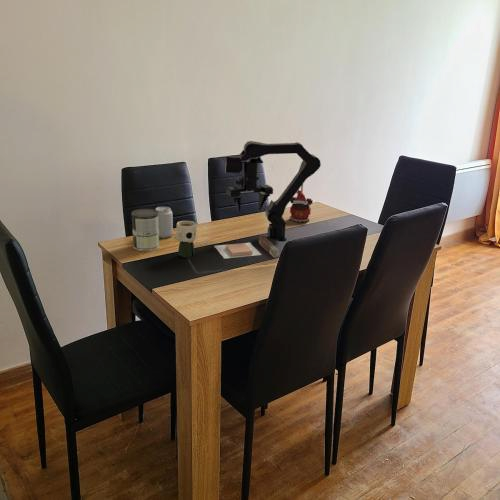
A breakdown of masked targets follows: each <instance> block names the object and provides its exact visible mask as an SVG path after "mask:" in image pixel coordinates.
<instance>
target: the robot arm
mask: <svg viewBox="0 0 500 500" xmlns="http://www.w3.org/2000/svg"><path fill="white" fill-rule="evenodd" d="M280 154H281V155H282V154H283V155H285V154H286V155H287V154H297V156H298V157H299V158H300V159H301V160H302V161H301V163H300V165H299V169H298V171H297V173H296V174H295V175H294V177H293V179H292V180H291V181H290V182H289V184H288V185H287V187H286V188H285V189H284V191H283V192H282V193H281V195H280V196H279V197H278V199H276V200H275V201H273V200H272V199H271V200H270V202H269V203H268V205H267V206H265V211H264V213H265V214H264V215H265V216H266V219H267V220H268V222H269V223H268V227H267V236H266V238H267V239H271V240H273V239H274V240H278V241H286V240H287V238H286V224H287V222H286V220H285V218H284V217H283V215H284V213H285V211H286V208H287V206H288V204H289V203H291V202H290V200H291V199H292V198H293V197H295V195H296V194H297V193H296V192H297V191H298V190H299V191H300V189H301V186H302V184H303V185H304V183H305V182H306V180H307V179H309V178H310V177H311V176H313V175H314V174H315V173H316V172H317V171H319V169H320V168H321V159H320V158H319V157H317V156H316V155H314V154H313V153H312V154H311V153H310V152H309V151H308V150H307V149H306V148H305V147H304V146H303V144H301V143H300V142H289V143H288V142H285V143H264V142H259V141H253V140H249V141H246V143H245V144H244V146H243V150H242V151H241V152H240V154H238V156H230V155H226V156H225V163H224V173H225V174H237V175H239V174H240V173H241V172H242V171H243V174H242V175H241V178H240V177H239V176H234V177H233V185H234V186H229V187H227V188H226V190H225V194H226V195H228V196H229V197H231V199H233V201H234V203H235V207H236V210H237V213H240V212H241V203H242V200H241V199H242V197H241V194H254V193H257V194H258V202H257V203H258V205H257V209H258V211H261V209H262V208H263V206H264V204H265V202H266V200H267V199H268V198H269V197H271V195H273V194H274V188H273V187H272V186H271V185H268V184H260V185H259V186H258V181H259V180H260V177H259V176H258V175H259V174H258V173H259V164H264V161H263V159H261V157H263V156H267V155H280Z"/></svg>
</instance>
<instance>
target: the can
mask: <svg viewBox="0 0 500 500" xmlns="http://www.w3.org/2000/svg"><path fill="white" fill-rule="evenodd" d="M155 210H156V211H158V213H159V214H158V224H159V239H168V237H169V238H171V237H172V236H173V234H174V228H173V227H174V226H173V225H174V224H173V223H174V222H173V211H172V209H171V207H168V206H157V207H156V208H155Z"/></svg>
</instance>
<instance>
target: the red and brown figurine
mask: <svg viewBox="0 0 500 500" xmlns="http://www.w3.org/2000/svg"><path fill="white" fill-rule="evenodd" d="M303 191H304V183H303V184H302V186H301V187H300V189H299V190H298V191H297V192H296V194H297V196H293V198H292V199H291V200H290V202H289V203H290V204H292V205H291V206H290V209H289V213H290V216H289V219H290V220H291V221H295V222H298V221H299V223H303V222H304V223H305V222H308V221H310V219H311V217H310V215H311V210H312V209H311V207H310V206H311V205H312V204H313V200H312V198H309V197H307V198H306V196H305V194H304V193H303ZM302 221H303V222H302Z"/></svg>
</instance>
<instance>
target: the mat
mask: <svg viewBox="0 0 500 500" xmlns="http://www.w3.org/2000/svg"><path fill="white" fill-rule="evenodd" d="M241 243H242V242H241ZM241 243H239V244H241ZM244 243H245V244H246V245H247V246H248V247H249V248H250V249H251V250H252V255H244V256H233V257H232V256H231V254H230V253H229V252H228V251H227V250H226V249H225V245H226V244H221V245H220V244H219V245H218V244H217V245H214V248H215V249H216V250H217V251H218V253H219V254H220V255H221V256H222V258H223V259H225V260H226V259H233V258H244V257H252V256H256V257H257V256H262V255H263V254H262V253H261V252H260V251H259V250H258V249H257V248H256V247H255V246H254V245H253V244H252V243H251V242H244ZM228 245H230V244H228Z"/></svg>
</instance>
